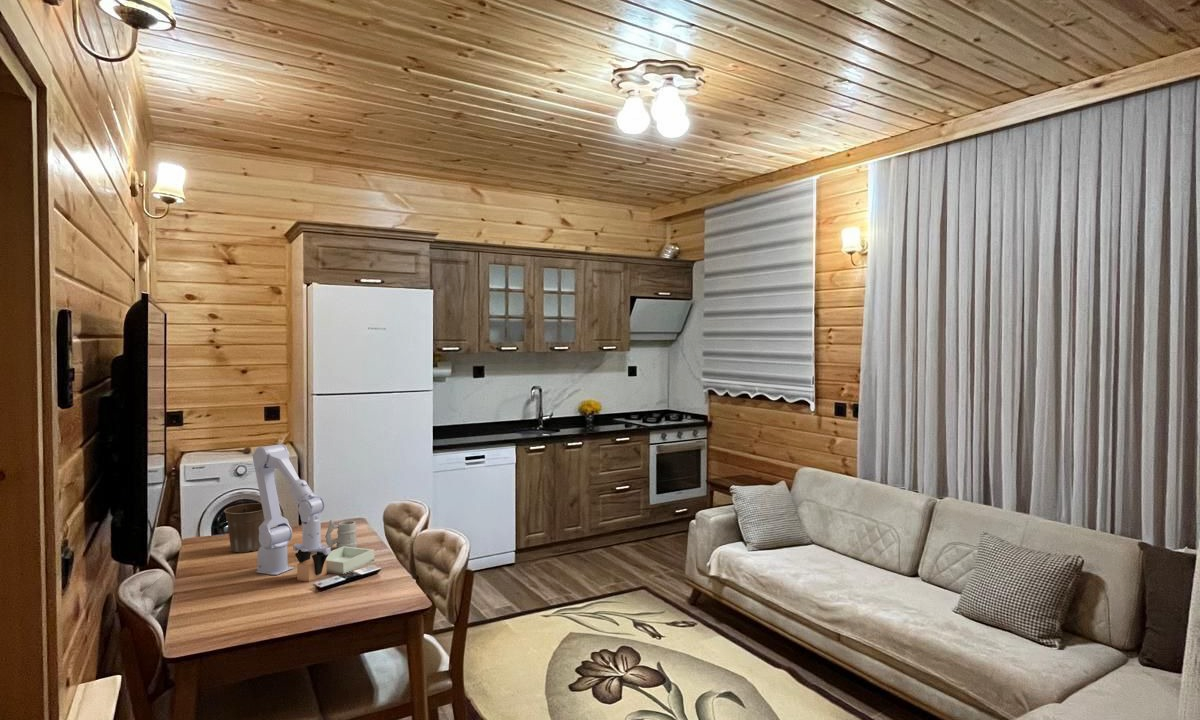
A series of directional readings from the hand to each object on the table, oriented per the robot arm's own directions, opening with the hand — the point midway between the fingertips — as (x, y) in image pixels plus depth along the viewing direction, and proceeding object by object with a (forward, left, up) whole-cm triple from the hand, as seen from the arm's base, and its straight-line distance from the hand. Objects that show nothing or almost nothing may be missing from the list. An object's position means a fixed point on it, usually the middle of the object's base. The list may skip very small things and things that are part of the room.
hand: (312, 573), depth 230 cm
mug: (-14, +30, -2) cm, 33 cm away
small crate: (0, 0, -1) cm, 1 cm away
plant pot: (-49, +18, -2) cm, 52 cm away
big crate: (+1, +14, -1) cm, 14 cm away
